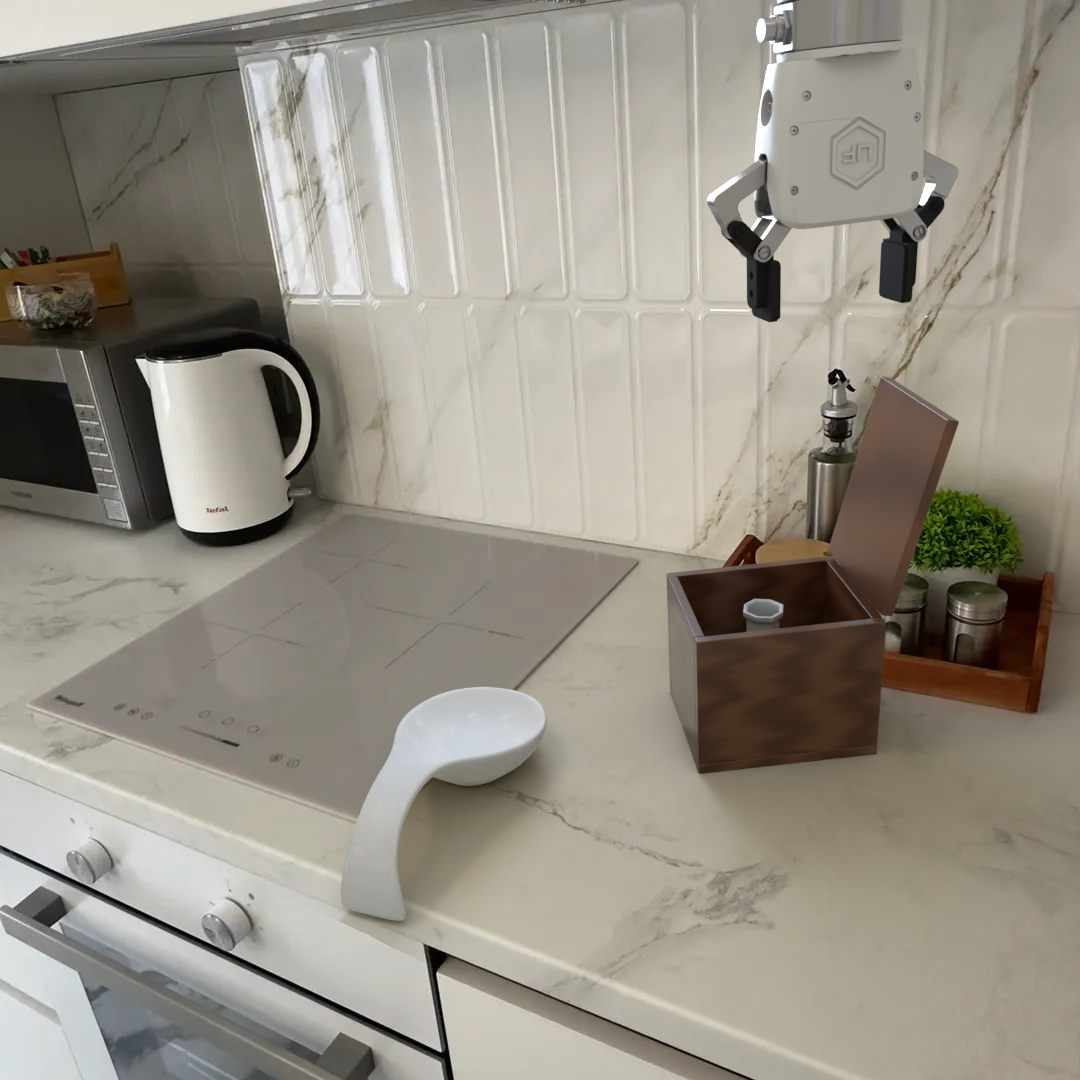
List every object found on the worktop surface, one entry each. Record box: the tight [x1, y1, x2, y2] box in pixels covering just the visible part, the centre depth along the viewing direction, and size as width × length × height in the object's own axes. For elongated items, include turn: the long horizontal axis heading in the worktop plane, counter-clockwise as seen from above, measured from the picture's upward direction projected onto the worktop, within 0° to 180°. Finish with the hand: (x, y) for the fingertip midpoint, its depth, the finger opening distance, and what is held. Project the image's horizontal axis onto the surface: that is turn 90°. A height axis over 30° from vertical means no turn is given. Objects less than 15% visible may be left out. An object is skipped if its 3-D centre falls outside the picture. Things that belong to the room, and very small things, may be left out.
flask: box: [743, 599, 783, 632], centre depth 79 cm, size 7×7×10 cm
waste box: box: [665, 555, 887, 774], centre depth 79 cm, size 14×12×12 cm
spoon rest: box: [340, 686, 548, 922], centre depth 73 cm, size 24×12×7 cm, turn 161°
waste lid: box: [827, 375, 960, 617], centre depth 74 cm, size 15×12×1 cm
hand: (831, 308), depth 67 cm, fingers open, 9 cm apart
